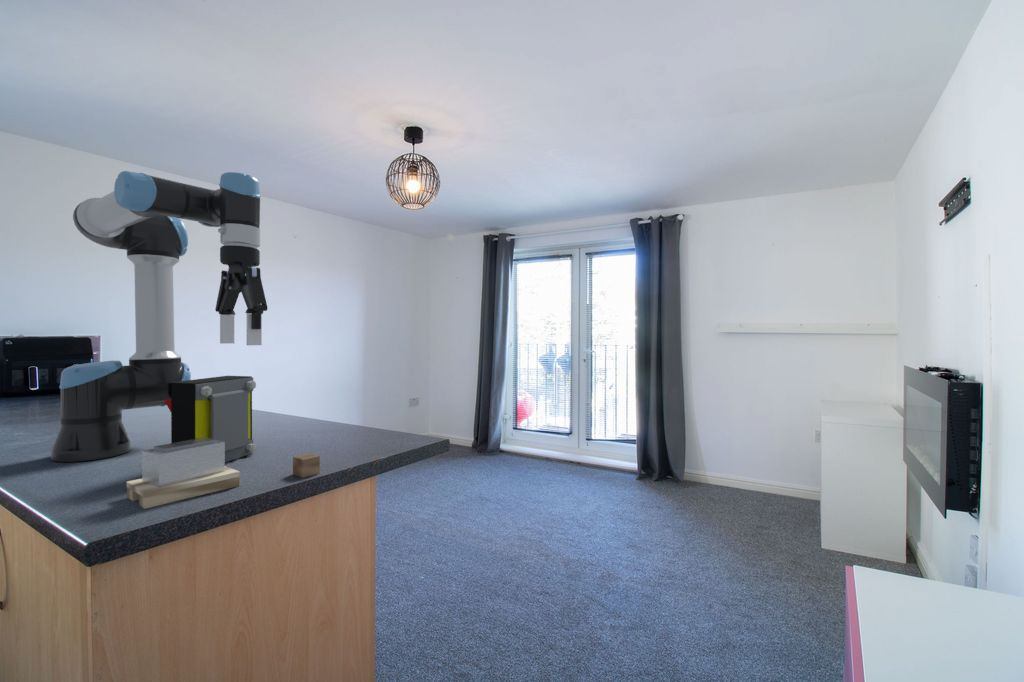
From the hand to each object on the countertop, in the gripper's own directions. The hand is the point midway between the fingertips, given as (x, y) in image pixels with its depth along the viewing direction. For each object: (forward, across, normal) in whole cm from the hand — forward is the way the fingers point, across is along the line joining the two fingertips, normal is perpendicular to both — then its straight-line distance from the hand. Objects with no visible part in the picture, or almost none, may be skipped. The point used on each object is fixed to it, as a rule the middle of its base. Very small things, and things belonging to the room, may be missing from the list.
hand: (240, 344), depth 105 cm
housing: (+26, +4, -12) cm, 28 cm away
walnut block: (+29, +10, +10) cm, 32 cm away
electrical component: (+29, -16, +1) cm, 33 cm away
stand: (+29, +4, -12) cm, 31 cm away
